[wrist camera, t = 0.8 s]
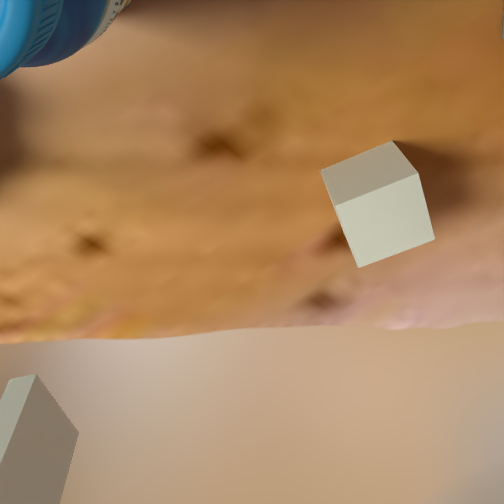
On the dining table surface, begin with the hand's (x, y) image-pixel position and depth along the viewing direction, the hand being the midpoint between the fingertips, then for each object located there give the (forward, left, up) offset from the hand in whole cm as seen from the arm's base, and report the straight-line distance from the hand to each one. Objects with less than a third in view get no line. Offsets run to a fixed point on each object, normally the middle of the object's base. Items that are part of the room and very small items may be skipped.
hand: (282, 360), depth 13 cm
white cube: (+10, +8, -26) cm, 29 cm away
